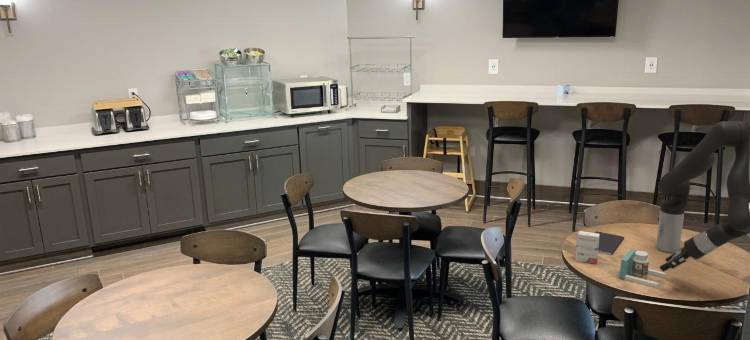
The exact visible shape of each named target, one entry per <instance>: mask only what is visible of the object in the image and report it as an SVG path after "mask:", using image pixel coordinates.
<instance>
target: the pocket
mask: <svg viewBox="0 0 750 340" xmlns="http://www.w3.org/2000/svg"><path fill="white" fill-rule="evenodd" d="M636 251H637V250H636V249H632V248H631V249H629V250H628V251H627V252H626V254H625V255H624V256H623V257H622V258H621V260H620V267H619V268H620V270H619V279H621V280H623V281H628V282H632V283H636V284H639V285H644V286H646V287H647V286H648V287H651V288H655V289H658V288H659V286H660V283H659V282H656V281H652V280H650V279H649V280H648V279H641V278H637V277H633V276H632V275H630V274H632V264H633V258H634V257H635V252H636ZM647 275H650V276H655V277H659V278H663V279H664V278H666V276H667V272H665V271H664V272H663V271H658V270H655V269H650V268H648V274H647Z"/></svg>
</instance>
